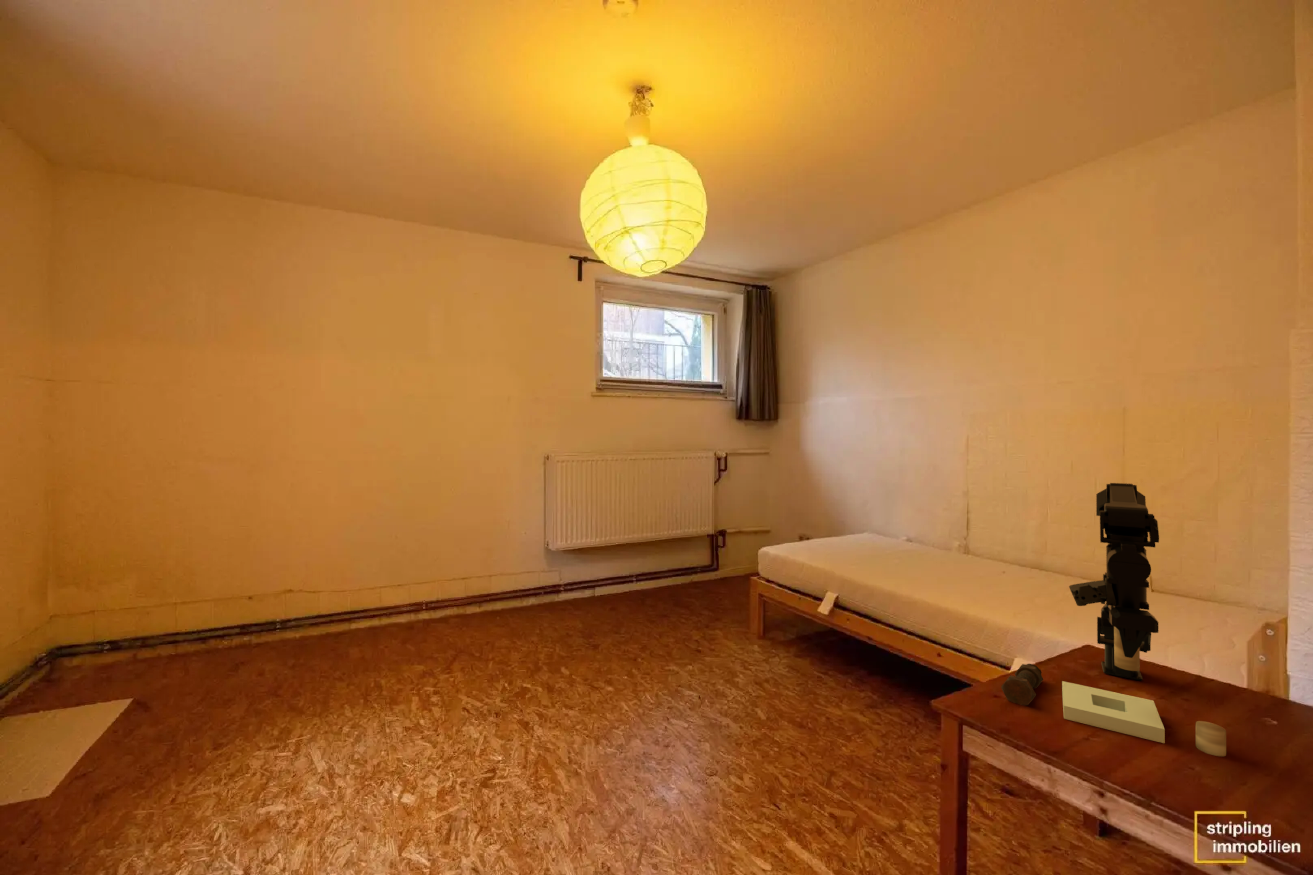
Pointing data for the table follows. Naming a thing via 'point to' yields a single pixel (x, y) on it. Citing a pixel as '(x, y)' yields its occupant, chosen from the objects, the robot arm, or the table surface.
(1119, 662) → the long pin
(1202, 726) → the short pin
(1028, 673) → the bolt
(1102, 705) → the board
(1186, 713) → the table surface
